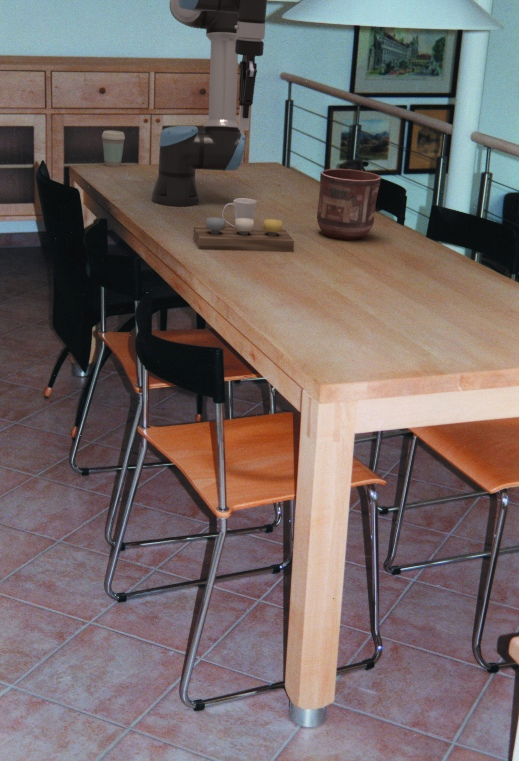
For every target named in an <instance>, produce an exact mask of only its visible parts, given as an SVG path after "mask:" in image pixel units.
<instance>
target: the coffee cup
mask: <svg viewBox="0 0 519 761" xmlns="http://www.w3.org/2000/svg"><path fill="white" fill-rule="evenodd" d="M101 139H102V147H103V148H102V149H103V160H104V166H106V167H111V168H117V167H121V166H122V158H123V152H124V151H123V150H124V144H125V139H126V136H125V133H124V132H123V131H120V130H104V131H103V132H102V134H101Z"/></svg>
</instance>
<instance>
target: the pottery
mask: <svg viewBox="0 0 519 761" xmlns="http://www.w3.org/2000/svg"><path fill="white" fill-rule="evenodd" d="M319 177H320V178H319V194H318V195H319V197H318V203H317V212H316V213H317V214H316V215H317V216H316V223H317V224H318V226H319V227H318V228H319V229H320V230H321V231H322V233H323V234H324V235H325V236H326V237H328V238H331V239H336V240H343V241H344V240H346V241H356V240H361V239H363V238H364V237H365V236H366V235H367V234H369V233H370V232H371V230H372V228H373V227H374V226H373V225H374V222H375V215H376V204H377V203H376V202H377V198H378V193H379V190H380V186H381V182H382V181H381V180H382V177H381V176H380V175H378V174H376V173H373V172H369V171H363V170H357V169H350V168H347V169H346V168H330V169H324V170H322V171H320V175H319Z"/></svg>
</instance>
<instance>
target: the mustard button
mask: <svg viewBox="0 0 519 761" xmlns="http://www.w3.org/2000/svg"><path fill="white" fill-rule="evenodd" d="M282 228H283V220H281V219H276V218H266V219H264V220H263V228H262V229H263V230H265V231H268V236H276V233H277V232H281V230H283V229H282Z"/></svg>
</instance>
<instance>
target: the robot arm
mask: <svg viewBox="0 0 519 761" xmlns="http://www.w3.org/2000/svg"><path fill="white" fill-rule="evenodd" d="M267 3H268V0H170V1H169V10H170V12H171V13H170V14H171V16H172V17H173V18H174V19H175V20H176V21H177V22H178V23H180V24H183V25H184V26H186V27H190V28H193V29H200V30H202V29H203V30H206V31H205V33H206V34H205V36H206V37H207V38H208V40H209V41H210V65H209V67H210V68H209V97H208V98H209V100H208V104H209V105H208V121H207V122H206V123H205V124H204V125H203V131H199V129H198V127H197V126H194V125H176V126H175V125H174V126H169V127H165V128H164V129H162V131H161V132H160V135H159V137H160V138H159V143H158V146H159V154H158V157H159V158H158V176H157V179H156V182H155V185H154V187H153V189H152V193H151V201H153V202H154V203H157V204H160V205H166V206H172V207H173V206H174V207H191V206H196V205H198V204H199V203H200V192H199V188H198V184H197V181H196V170H205V171H206V170H208V171H224V172H225V171H237V170H238V169H239V168H240V167H241V165H242V162H243V158H244V154H245V149H246V135H245V134H244V133H243V132H241V131H250V122H251V121H250V119H251V108H252V106H253V104H254V95H255V94H254V92H255V85H256V79H257V78H256V76H257V73H258V69H257V67H258V66H257V63H256V57H262V56H263V54H264V46H265V42H264V41H263V40H264V39H265V37H266V36H265V35H266V18H267V17H266V15H267ZM239 55H240V56H242V59H241V61H239V60H238V59H239ZM238 63H239V65H238ZM238 68H239V80H238ZM238 81H239V85H238ZM238 86H239V88H238ZM238 89H239V90H238ZM237 91H238V92H237ZM237 94H238V98H237ZM237 99H238V102H239V103H238V106H239V114H238V115H239V116H238V123H237Z"/></svg>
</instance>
